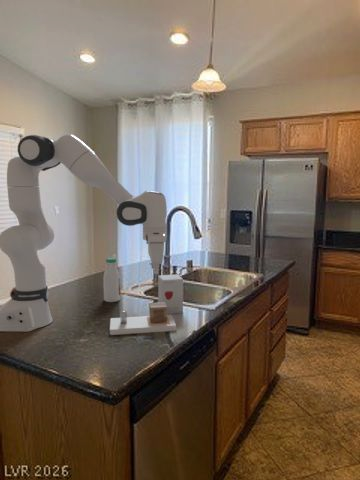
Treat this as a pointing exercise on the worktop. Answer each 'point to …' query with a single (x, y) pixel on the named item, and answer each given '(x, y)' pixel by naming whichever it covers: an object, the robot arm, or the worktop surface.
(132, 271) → the worktop surface
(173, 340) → the worktop surface
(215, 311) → the worktop surface
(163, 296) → the supplement box
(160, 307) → the walnut cap
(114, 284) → the milk bottle
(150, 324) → the terracotta tile
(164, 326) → the white rectangular board
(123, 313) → the metal post
